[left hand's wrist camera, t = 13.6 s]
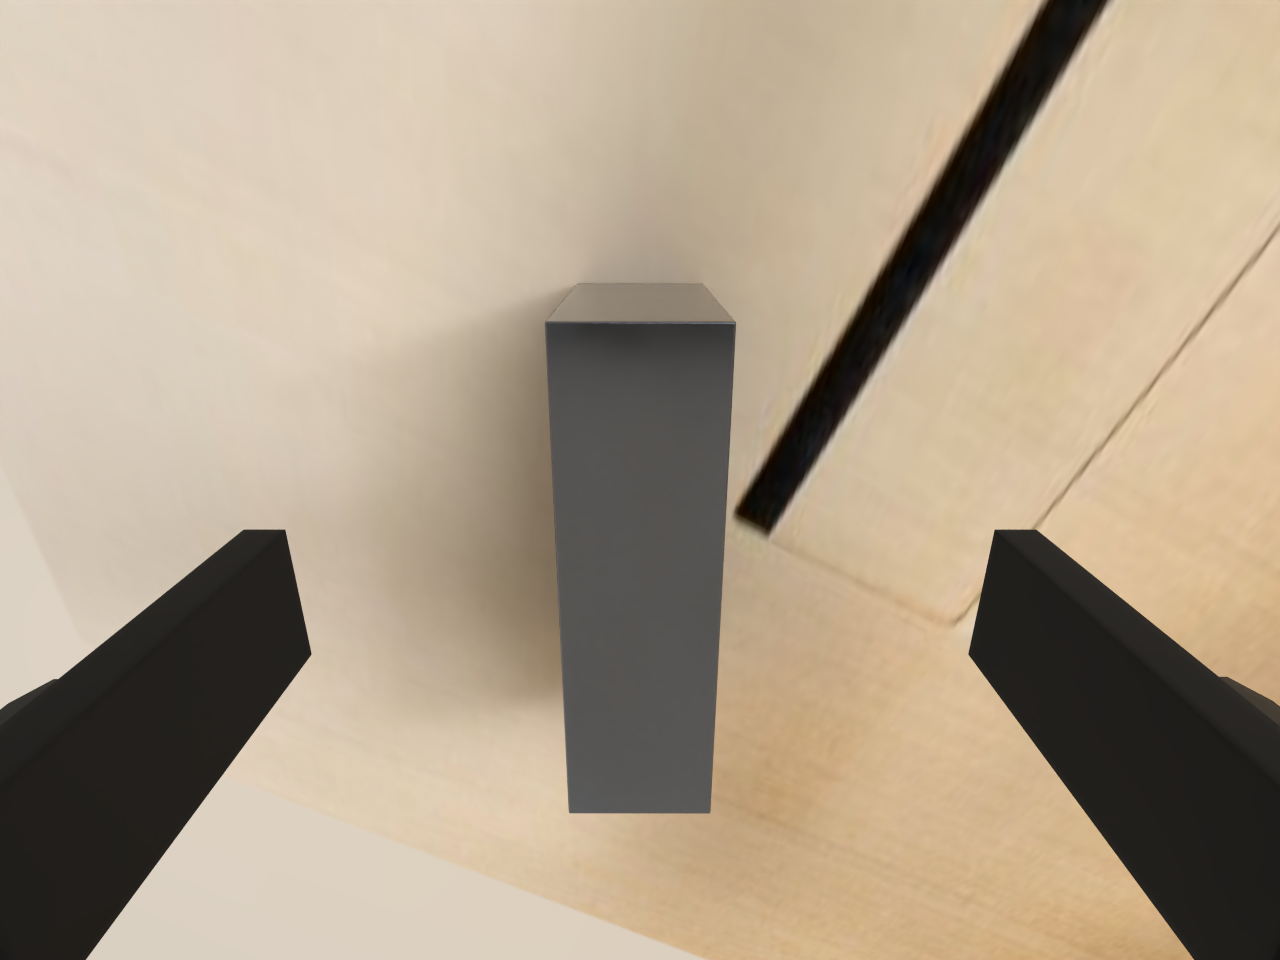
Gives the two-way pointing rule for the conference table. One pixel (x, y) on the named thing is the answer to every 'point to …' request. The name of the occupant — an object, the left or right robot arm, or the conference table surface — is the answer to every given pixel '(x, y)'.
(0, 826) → the left robot arm
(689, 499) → the box
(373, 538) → the conference table surface
